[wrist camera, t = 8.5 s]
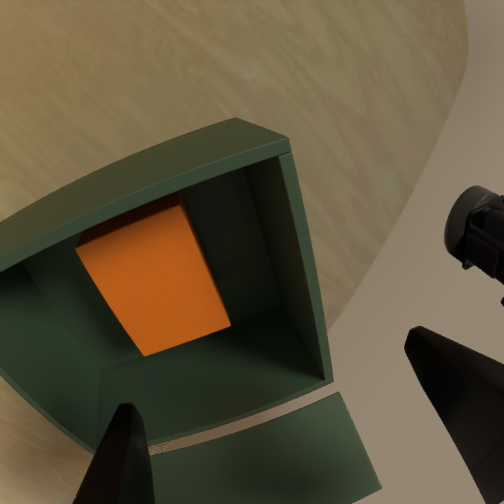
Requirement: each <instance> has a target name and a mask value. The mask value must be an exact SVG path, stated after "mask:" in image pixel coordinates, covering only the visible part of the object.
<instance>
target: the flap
mask: <svg viewBox="0 0 504 504" xmlns="http://www.w3.org/2000/svg"><path fill="white" fill-rule="evenodd" d="M150 461H151V467H152V476H153V487H154V497H155V504H352V503H354V502H356V501H358V500H360V499H362V498H364V497H366V496H368V495H370V494H372V493H374V492H376V491H378V490H380V489H382V486H381V484H380V482H379V479H378V477H377V475H376V472H375V470H374V468H373V466H372V463H371V461H370V459H369V457H368V454H367V452H366V450H365V448H364V445H363V443H362V441H361V439H360V437H359V434H358V432H357V430H356V428H355V425H354V423H353V421H352V419H351V416H350V415H349V412H348V410H347V408H346V405H345V403H344V401H343V399H342V397H341V394H340V392H336V393H334V394H332V395H330V396H328V397H325V398H323V399H321V400H319V401H317V402H314V403H312V404H310V405H308V406H305V407H303V408H300V409H298V410H296V411H293V412H290V413H288V414H285V415H283V416H280V417H278V418H275V419H272V420H270V421H267V422H265V423H262V424H259V425H256V426H253V427H250V428H248V429H245V430H242V431H239V432H236V433H233V434H229V435H226V436H223V437H220V438H217V439H213V440H210V441H207V442H204V443H200V444H197V445H192V446H189V447H185V448H182V449H177V450H173V451H170V452H165V453H161V454H156V455H152V456H150Z"/></svg>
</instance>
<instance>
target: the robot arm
mask: <svg viewBox="0 0 504 504" xmlns="http://www.w3.org/2000/svg"><path fill="white" fill-rule="evenodd" d="M473 265H475V266H477V267H478V268H479V269H481V270H482V271H483V272H485V273H486V274H487V275H489V276H490V277H491V278H493V279H494V278H495V279H497V280H498V281H500V282H501V283H502V284H503V285H504V196H503V195H501V196H499V197H497V198H495V199H493V200H491V201H489V202H487V203H485V204H484V205H482V206H480V207H478V208H476V209H474V210H472V211H470V212H469V214H468V219H467V230H466V239H465V248H464V255H463V263H462V268H464V269H465V270H467V269H468V268H470V267H472V266H473ZM501 304H502V305H503V306H504V297H503V298H502V300H501ZM404 349H405V353H406V355H407V357H408V359H409V361H410V363H411V365H412V367H413V369H414V372H415V374H416V376H417V378H418V380H419V382H420V384H421V386H422V388H423V390H424V391H425V393H426V395H427V396H428V398H429V400H430V401H431V403H432V404H433V406H434V408H435V410H436V411H437V413H438V415H439V417H440V418H441V420H442V422H443V424H444V425H445V427H446V429H447V431H448V432H449V434H450V436H451V438H452V440H453V441H454V443H455V445H456V447H457V449H458V450H459V452H460V454H461V456H462V458H463V460H464V461H465V464H466V465H467V467H468V469H469V471H470V473H471V475H472V477H473V479H474V481H475V483H476V485H477V487H478V489H479V491H480V493H481V495H482V497H483V499H484V501H485V503H486V504H499V503H501V502H502V501H504V364H502V363H500V362H498V361H496V360H494V359H492V358H489V357H487V356H485V355H483V354H481V353H479V352H476V351H474V350H472V349H470V348H468V347H466V346H463V345H461V344H459V343H457V342H455V341H453V340H450V339H448V338H446V337H444V336H442V335H440V334H437V333H435V332H433V331H431V330H429V329H426V328H424V327H422V326H417V327H415V328H412V329H411V330H409V333H408V336H407V339H406V342H405V346H404ZM73 504H155V497H154V487H153V476H152V467H151V461H150V456H149V451H148V445H147V440H146V434H145V429H144V423H143V419H142V417H141V415H140V413H139V412H138V410H137V408H136V407H135V405H134V404H133V403H132V402H128V403H121V404H119V405H118V407H117V409H116V411H115V413H114V415H113V417H112V419H111V421H110V423H109V425H108V427H107V429H106V431H105V434H104V436H103V438H102V440H101V442H100V444H99V446H98V448H97V450H96V453H95V455H94V457H93V459H92V461H91V463H90V466H89V468H88V470H87V472H86V474H85V477H84V479H83V481H82V483H81V485H80V488H79V490H78V492H77V494H76V498H75V499H74V501H73Z"/></svg>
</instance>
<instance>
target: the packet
mask: <svg viewBox="0 0 504 504" xmlns="http://www.w3.org/2000/svg"><path fill="white" fill-rule="evenodd" d="M75 250H76V252H77V254H78V256H79V257H80V259H81V261H82V263H83V264H84V266H85V268H86V270H87V271H88V273H89V275H90V276H91V278H92V280H93V281H94V283H95V285H96V286H97V288H98V289H99V291H100V293H101V294H102V296H103V297H104V299H105V300H106V302H107V304H108V305H109V307H110V308H111V310H112V311H113V313H114V314H115V316H116V317H117V319H118V320H119V322H120V323H121V325H122V326H123V328H124V329H125V330H126V332H127V333H128V335H129V336H130V338H131V339H132V340H133V342H134V343H135V345H136V346H137V347H138V349H139V350H140V352H141V353H142V354H143V356H148V355H151V354H154V353H157V352H160V351H163V350H166V349H168V348H171V347H174V346H177V345H180V344H183V343H186V342H188V341H191V340H194V339H197V338H200V337H202V336H205V335H208V334H211V333H213V332H216V331H219V330H221V329H224V328H227V327H229V326H231V323H230V320H229V317H228V314H227V311H226V308H225V305H224V302H223V299H222V296H221V293H220V290H219V287H218V284H217V281H216V279H215V276H214V274H213V271H212V269H211V267H210V264H209V262H208V259H207V257H206V254H205V252H204V249H203V247H202V244H201V242H200V239H199V237H198V234H197V232H196V229H195V227H194V224H193V222H192V219H191V217H190V214H189V212H188V209H187V206H186V204H185V201H184V199H183V196H182V193H181V191H180V190H179V191H176V192H174V193H171V194H169V195H166V196H164V197H161V198H159V199H156V200H154V201H151V202H149V203H146V204H144V205H141V206H139V207H137V208H134V209H132V210H129V211H127V212H125V213H122V214H120V215H118V216H115V217H113V218H111V219H108V220H106V221H104V222H102V223H99V224H97V225H95V226H93V227H91V228H88V229H86V230H84V231H83V232H82V234H81V236H80V239H79V241H78V243H77V245H76V247H75Z"/></svg>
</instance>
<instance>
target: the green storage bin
mask: <svg viewBox="0 0 504 504" xmlns="http://www.w3.org/2000/svg"><path fill="white" fill-rule="evenodd" d="M179 190H180V191H181V193H182V196H183V199H184V201H185V204H186V206H187V209H188V212H189V214H190V217H191V219H192V222H193V224H194V227H195V229H196V232H197V234H198V237H199V239H200V242H201V244H202V247H203V249H204V252H205V254H206V257H207V259H208V262H209V264H210V267H211V269H212V271H213V274H214V276H215V279H216V281H217V284H218V287H219V290H220V293H221V296H222V299H223V302H224V305H225V308H226V311H227V314H228V317H229V320H230V323H231V326H229V327H227V328H224V329H221V330H219V331H216V332H213V333H211V334H208V335H205V336H202V337H200V338H197V339H194V340H191V341H188V342H186V343H183V344H180V345H177V346H174V347H171V348H168V349H166V350H163V351H160V352H157V353H154V354H151V355H148V356H143V354H142V353H141V352H140V350H139V349H138V347H137V346H136V345H135V343H134V342H133V340H132V339H131V338H130V336H129V335H128V333H127V332H126V330H125V329H124V328H123V326H122V325H121V323H120V322H119V320H118V319H117V317H116V316H115V314H114V313H113V311H112V310H111V308H110V307H109V305H108V304H107V302H106V300H105V299H104V297H103V296H102V294H101V293H100V291H99V289H98V288H97V286H96V285H95V283H94V281H93V280H92V278H91V276H90V275H89V273H88V271H87V270H86V268H85V266H84V264H83V263H82V261H81V259H80V257H79V256H78V254H77V252H76V250H75V247H76V245H77V243H78V241H79V239H80V236H81V234H82V232H83V231H84V230H86V229H88V228H91V227H93V226H95V225H97V224H99V223H102V222H104V221H106V220H108V219H111V218H113V217H115V216H118V215H120V214H122V213H125V212H127V211H129V210H132V209H134V208H137V207H139V206H141V205H144V204H146V203H149V202H151V201H154V200H156V199H159V198H161V197H164V196H166V195H169V194H171V193H174V192H176V191H179ZM0 375H1V376H2V377H3V378H4V380H5V381H6V382H7V383H8V384H9V385H10V386H11V387H12V388H13V389H14V390H15V391H16V392H18V393H19V394H20V395H21V396H22V397H23V398H24V399H25V400H26V401H27V402H28V403H29V404H30V405H31V406H32V407H34V408H35V409H36V410H37V411H38V412H39V413H40V414H42V415H43V416H44V417H45V418H46V419H47V420H49V421H50V422H51V423H52V424H53V425H55V426H56V427H57V428H58V429H59V430H61V431H62V432H63V433H65V434H66V435H67V436H68V437H70V438H71V439H72V440H74V441H75V442H76V443H78V444H79V445H80V446H82V447H83V448H84V449H86V450H87V451H89V452H90V453H92V454H93V455H95V453H96V450H97V448H98V446H99V444H100V442H101V440H102V438H103V436H104V434H105V431H106V429H107V427H108V425H109V423H110V421H111V419H112V417H113V415H114V413H115V411H116V409H117V407H118V405H119V404H121V403H128V402H132V403H133V404H134V405H135V407H136V408H137V410H138V412H139V413H140V415H141V417H142V419H143V423H144V429H145V434H146V440H147V445H148V446H149V445H154V444H158V443H162V442H166V441H170V440H174V439H178V438H181V437H185V436H189V435H192V434H196V433H199V432H203V431H206V430H209V429H212V428H216V427H219V426H222V425H225V424H228V423H231V422H234V421H237V420H240V419H243V418H246V417H249V416H251V415H254V414H257V413H260V412H263V411H265V410H268V409H271V408H273V407H276V406H278V405H281V404H283V403H286V402H288V401H291V400H293V399H296V398H298V397H300V396H303V395H305V394H308V393H310V392H312V391H314V390H317V389H319V388H321V387H323V386H326V385H328V384H330V383H332V382H334V379H333V371H332V364H331V357H330V351H329V343H328V337H327V330H326V324H325V317H324V311H323V305H322V299H321V293H320V287H319V282H318V276H317V270H316V265H315V260H314V254H313V249H312V244H311V239H310V234H309V228H308V224H307V219H306V214H305V209H304V204H303V199H302V195H301V190H300V186H299V181H298V176H297V172H296V168H295V163H294V159H293V155H292V152H291V146H290V142H289V138H288V137H286V136H284V135H281V134H279V133H276V132H274V131H271V130H268V129H266V128H263V127H261V126H258V125H255V124H253V123H250V122H247V121H244V120H242V119H239V118H232V119H229V120H225V121H222V122H219V123H216V124H213V125H210V126H207V127H204V128H201V129H198V130H195V131H193V132H190V133H187V134H184V135H181V136H179V137H176V138H173V139H171V140H168V141H165V142H163V143H160V144H158V145H155V146H153V147H150V148H148V149H145V150H143V151H140V152H138V153H135V154H133V155H131V156H128V157H126V158H124V159H121V160H119V161H117V162H115V163H112V164H110V165H108V166H106V167H104V168H101V169H99V170H97V171H95V172H93V173H91V174H89V175H86V176H84V177H82V178H80V179H78V180H76V181H74V182H72V183H70V184H68V185H66V186H64V187H62V188H60V189H58V190H57V191H55V192H53V193H51V194H49V195H47V196H45V197H43V198H42V199H40V200H38V201H36V202H34V203H33V204H31V205H29V206H27V207H25V208H24V209H22V210H20V211H19V212H17V213H15V214H13V215H12V216H10V217H8V218H7V219H5V220H3V221H2V222H0Z"/></svg>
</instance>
